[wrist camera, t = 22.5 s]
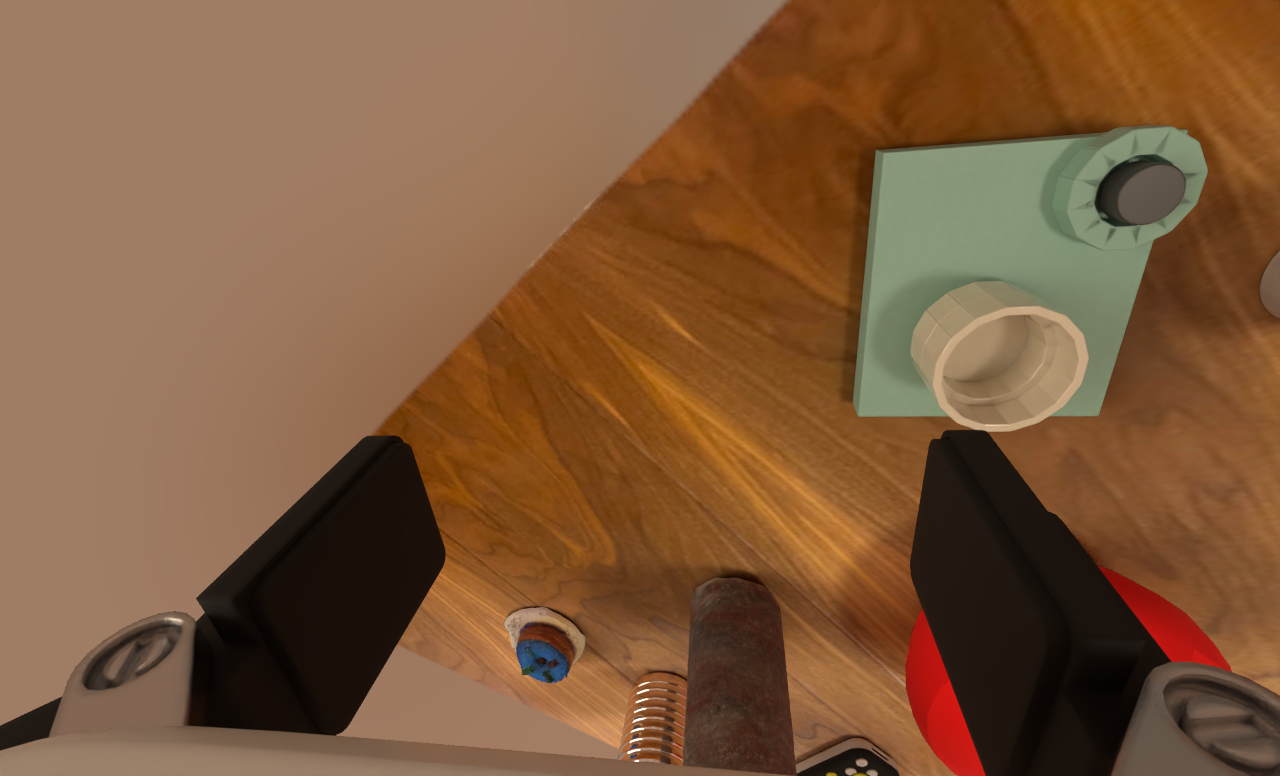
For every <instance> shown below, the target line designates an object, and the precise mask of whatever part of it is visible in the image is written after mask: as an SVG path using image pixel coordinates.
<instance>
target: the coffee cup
mask: <svg viewBox="0 0 1280 776" xmlns="http://www.w3.org/2000/svg"><path fill="white" fill-rule="evenodd" d="M1260 297H1261V300H1262V303H1263V305H1264V307H1265V308H1266V309H1267V310H1268V311H1269V312H1270V313H1271V314H1272V315H1274V316H1276V317H1277V318H1279V319H1280V251H1279V252H1278V253H1277V254H1276V255H1275V256H1274V258H1273V259H1272V260H1271V262H1270V263H1269V264H1268V266H1267V268H1266V270H1265V272H1264V274H1263V277H1262V280H1261V285H1260Z"/></svg>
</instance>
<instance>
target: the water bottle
mask: <svg viewBox="0 0 1280 776" xmlns="http://www.w3.org/2000/svg"><path fill="white" fill-rule="evenodd" d="M686 700H687V681H686V680H685V679H683V678H681V677H679V676H677V675H674V674H670V673H664V672H655V673H649V674H646V675H644V676H642V677H640V678H639V679H638V680H636V682H635V683H634V684H633V686H632V689H631V692H630V695H629V699H628V706H627V710H626V717H625V722H624V727H623V734H622V738H621V745H620V750H619V756H618V760H627V761H638V762H649V763H660V764H671V765H682V766H683V747H684V731H685V715H686Z"/></svg>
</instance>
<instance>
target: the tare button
mask: <svg viewBox="0 0 1280 776" xmlns="http://www.w3.org/2000/svg"><path fill="white" fill-rule="evenodd" d="M1185 189H1186V180H1185V177H1184V174H1183V173H1182V171H1181V170H1180V169H1179V168H1177V167H1176V166H1174V165H1171V164H1167V163H1160V162H1154V161H1147V160H1139V161H1134V162H1130V163H1128V164H1126V165H1123V166H1122V167H1120V168H1118V169H1117V170H1116V171H1114V172H1113V173H1112V174H1111V175H1110V176H1109V177H1108V178H1107V180H1106V181H1105V182H1104V184H1103V186H1102V188H1101V191H1100V195H1099V204H1100V207H1101V209H1102V211H1103V212H1104V213H1105V214H1106V215H1107V216H1108V217H1110V218H1112V219H1116V220H1119V221H1122V222H1125V223H1128V224H1132V225H1147V224H1151V223H1154V222H1156V221H1159V220H1161V219H1162V218H1164V217H1166V216H1167V215H1169V214H1170V213H1171V212H1172V211H1173V210H1174V209H1175V208H1176V207H1177V206H1178V204H1179V203H1180V201H1181V200H1182V198H1183V196H1184V193H1185Z"/></svg>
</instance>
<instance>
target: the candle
mask: <svg viewBox="0 0 1280 776" xmlns="http://www.w3.org/2000/svg"><path fill="white" fill-rule="evenodd" d="M683 766H693V767H704V768H714V769H725V770H736V771H747V772H757V773H768V774H779V775H790V776H797V772H796V764H795V755H794V743H793V732H792V722H791V713H790V701H789V693H788V683H787V673H786V662H785V650H784V641H783V633H782V622H781V614H780V608H779V606H778V603H777V601H776V599H775V598H774V596H773V595H772V594H771V593H770V592H769V591H768V590H767V589H766V588H765V587H764V586H761V585H760V584H756V583H754V582H750V581H746V580H743V579H740V578H736V577H735V578H716V577H715V578H713V579H712V580H710V581H707V582H705V583H704V584H702V585H700V586H697V587H696V588H695V589H694V592H693V596H692V606H691V621H690V637H689V659H688V676H687V700H686V715H685V731H684V747H683Z"/></svg>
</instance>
